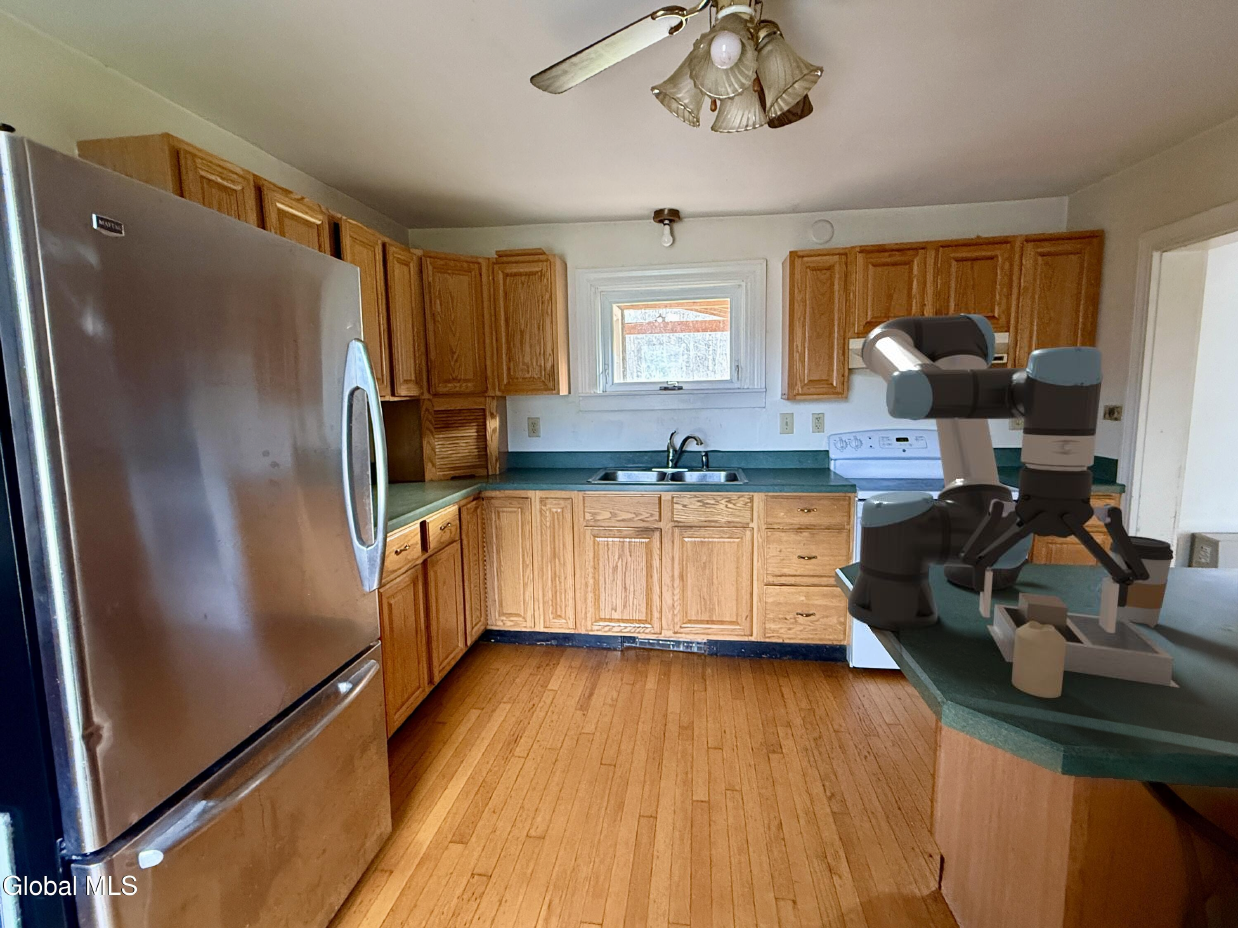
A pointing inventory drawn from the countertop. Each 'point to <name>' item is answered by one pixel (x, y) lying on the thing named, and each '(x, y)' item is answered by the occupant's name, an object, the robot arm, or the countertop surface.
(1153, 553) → the coffee cup
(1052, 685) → the candle
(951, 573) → the teapot
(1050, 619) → the block
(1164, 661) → the divided tray
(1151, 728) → the countertop surface
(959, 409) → the robot arm
